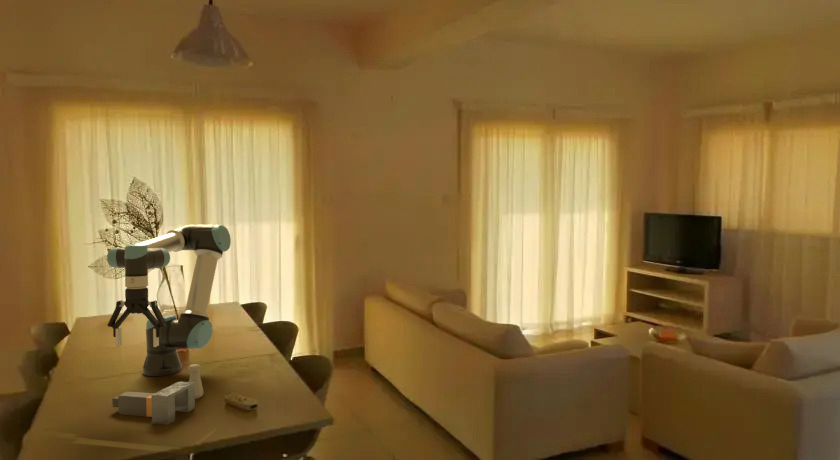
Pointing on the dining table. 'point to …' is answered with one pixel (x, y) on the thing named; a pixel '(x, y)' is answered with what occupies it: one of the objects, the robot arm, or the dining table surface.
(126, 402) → the plug
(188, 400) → the block
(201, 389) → the salt shaker
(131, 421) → the dining table surface
